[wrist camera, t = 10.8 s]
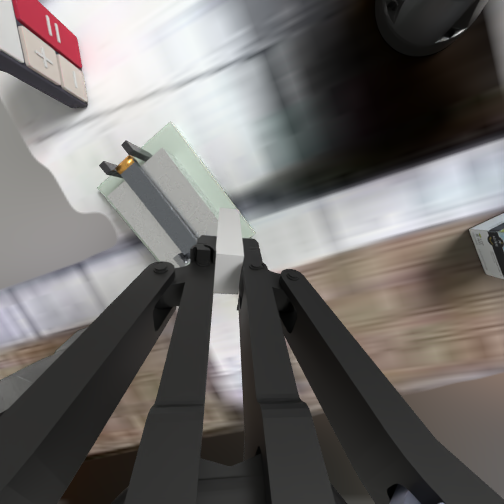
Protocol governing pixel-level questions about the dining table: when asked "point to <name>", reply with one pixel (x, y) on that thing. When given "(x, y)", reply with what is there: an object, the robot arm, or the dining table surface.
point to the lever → (157, 204)
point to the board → (193, 165)
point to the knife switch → (176, 193)
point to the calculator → (41, 51)
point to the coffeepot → (28, 376)
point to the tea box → (490, 245)
